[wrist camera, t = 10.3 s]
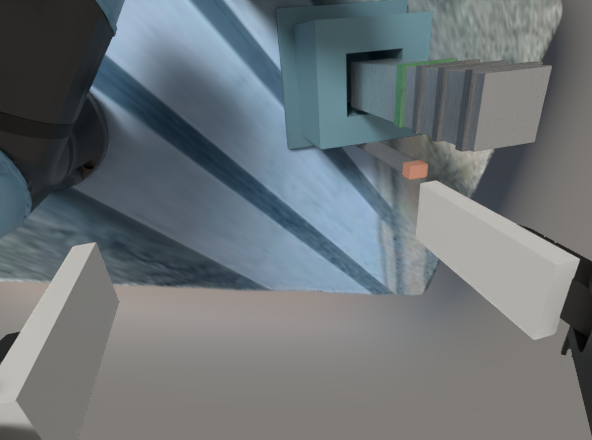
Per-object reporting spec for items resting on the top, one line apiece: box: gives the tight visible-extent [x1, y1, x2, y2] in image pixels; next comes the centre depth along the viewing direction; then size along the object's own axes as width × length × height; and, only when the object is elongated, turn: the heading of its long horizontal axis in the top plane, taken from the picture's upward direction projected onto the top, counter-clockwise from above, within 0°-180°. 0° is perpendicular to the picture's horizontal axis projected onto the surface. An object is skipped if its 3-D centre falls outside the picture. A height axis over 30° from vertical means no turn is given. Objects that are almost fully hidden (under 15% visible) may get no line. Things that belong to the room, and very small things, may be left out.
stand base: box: [276, 0, 433, 180], centre depth 42 cm, size 18×18×21 cm
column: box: [351, 58, 552, 152], centre depth 33 cm, size 5×5×22 cm
